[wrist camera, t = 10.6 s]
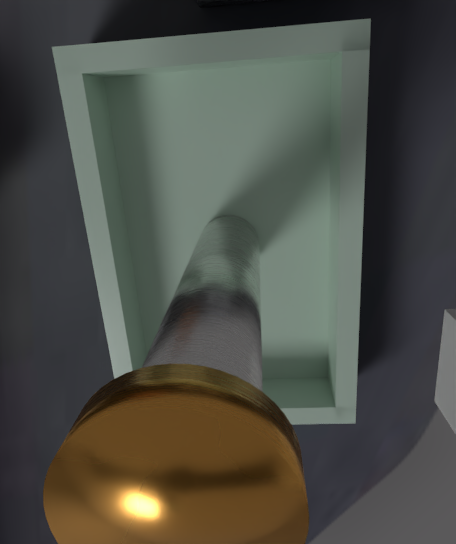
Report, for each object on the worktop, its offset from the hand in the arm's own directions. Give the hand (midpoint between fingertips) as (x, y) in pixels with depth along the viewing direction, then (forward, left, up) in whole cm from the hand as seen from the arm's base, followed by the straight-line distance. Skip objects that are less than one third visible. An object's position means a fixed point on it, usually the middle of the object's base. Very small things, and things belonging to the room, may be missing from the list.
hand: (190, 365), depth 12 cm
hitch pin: (0, 0, -11) cm, 11 cm away
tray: (0, 0, -11) cm, 12 cm away
